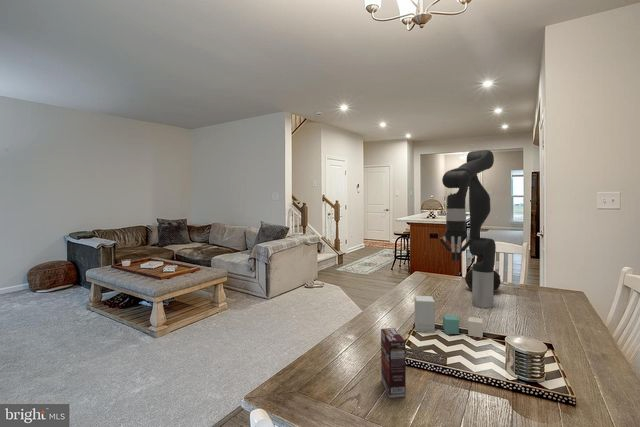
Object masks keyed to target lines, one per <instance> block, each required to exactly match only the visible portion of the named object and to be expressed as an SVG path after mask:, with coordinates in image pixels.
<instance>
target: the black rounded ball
mask: <svg viewBox="0 0 640 427" xmlns="http://www.w3.org/2000/svg"><path fill="white" fill-rule="evenodd" d="M483 259H484V257H480V256H476V261H475V263H479V262H482V261H483ZM464 280H465V283H466V285H467V286H468V288H469V289H470V290H472V283H473V268H472V269H470V270H468V271H467V272H466V273H465V276H464ZM501 282H502V281H501V275H500V274H499V273H498V272H497V271H496V270H494V281H493V293H494V292H495V291H497V290H498V289H499V288H500V286H501Z"/></svg>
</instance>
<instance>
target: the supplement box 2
mask: <svg viewBox="0 0 640 427" xmlns="http://www.w3.org/2000/svg"><path fill="white" fill-rule="evenodd" d="M414 328H415V332H418V333H419V332H421V333H432V334H433V333H435V332H436V330H435V329H436V301H435V299H434V296H430V295H429V296H428V295H414Z"/></svg>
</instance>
